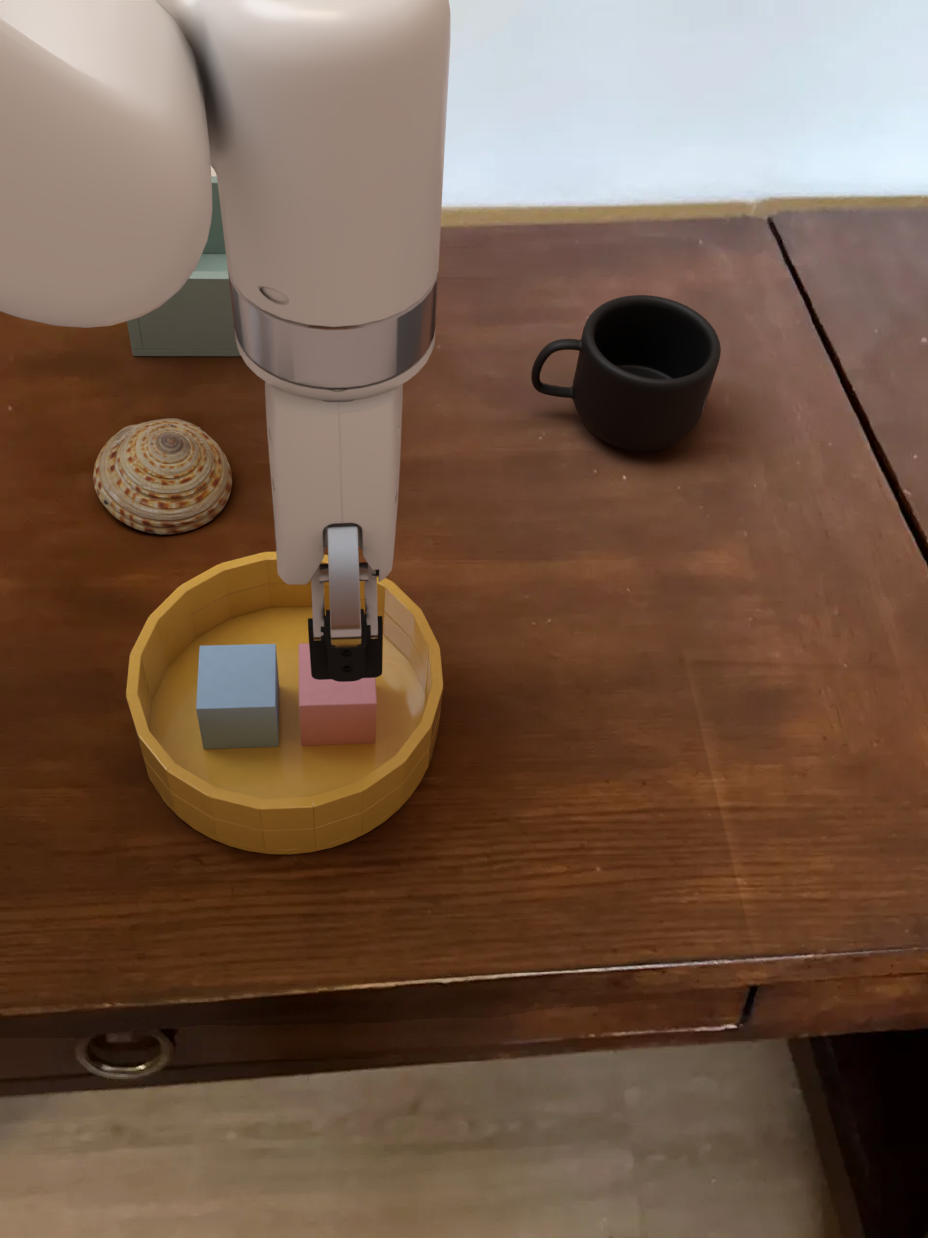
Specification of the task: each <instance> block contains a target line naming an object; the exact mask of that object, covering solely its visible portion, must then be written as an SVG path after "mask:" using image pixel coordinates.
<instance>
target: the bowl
mask: <svg viewBox="0 0 928 1238" xmlns="http://www.w3.org/2000/svg"><path fill="white" fill-rule="evenodd" d="M326 563H328V554H324V558H323V560H322V562H321V563H320V564H326ZM324 598H325V616H326V610H330V600H329V582H324ZM360 607H361V609H364V614H365V596H364V581H360ZM377 612H378V616H382V620H383V652H382V674H381V675H380V676H379V677H376V697H377V712H376V740H375V743H370V744H340V745H311V746H302V745H301V732H300V714H299V644H301V643H309V635H308V618H313V612H312V586H311V580H310V581H309V582H308V583H307V584H306V585H297V584H292V585H289V584H286V583H285V582H284V581H283V580H282V579H281V578H280V577H279V575H278V572H277V555H276V551H262V552H258V553H254V554H251V555H247V556H243V557H240V558H235V559H232V560H231V559H230V560H227V561H223V562H220V563H217V564H215V565H214V566H212V567H210V568H209V569H206V570H205V571H204V572H201V573H199V574H198V575H196V576H195V577H192V578H191V579H189V580H187V581H185V582H183V583H181V584H180V585H179V586H178V587H177V588H175V590H173V591H172V593H171V594H170V595H169V596H167V598H165V600H164V601H163V602H162V603H160V604H159V606H157V607H156V608H155V609H154V611H152V613H150V615H148V617H147V619H146V621H145V623H144V625H143V627H142V630H141V631H140V632H139V635H138V637H137V640H136V641H135V643H134V646H133V647H132V648H131V651H130V653H129V658H128V667H127V668H128V669H127V677H126V678H127V679H126V689H125V698H126V699H125V700H126V702H127V705H128V710H129V714H130V717H131V721H132V726H133V729H134V733H135V736H136V741H137V744H138V747H139V749H140V750H139V751H140V753H141V757H142V761H143V763H144V767H145V770H146V774H147V776H148V779H149V781H150V782H151V783H152V785H153V787H154V789H155V791H156V792H157V794H158V795H159V796H160V798H161V799H162V801H163V802H164V803H165V805H166V806H167V807H168V808H169V809H170V810H171V811H172V812H173V813H174V814H175V815H176V817H178V818H179V819H180V820H181V821H183V822H184V823H185V824H187V825H188V826H189V827H191V828H192V829H193V830H195V831H197V832H198V833H200V834H202V835H203V836H206V837H207V838H209V839H211V840H213V841H216V842H218V843H220V844H223V845H225V846H228V847H231V848H235V849H238V850H243V851H245V852H252V853H258V854H266V855H298V854H307V853H314V852H318V851H323V850H329V849H332V848H335V847H338V846H341V845H343V844H346V843H349V842H351V841H354V840H356V839H357V838H359V837H362V836H364V835H366V834H367V833H369V832H371V831H373V830H374V829H376V828H377V827H378V826H380V825H382V824H383V823H385V822H386V821H387V820H388V819H389V818H391V817H392V816H393V815H394V814H395V813H397V812H398V811H399V810H400V809H401V808H402V806H404V804H405V803H406V802H407V801H408V800H409V799H410V798H411V797H412V795H413V794H414V793H415V791H416V789H418V786H419V785H420V783H421V782H422V781H423V778H424V776H425V774H426V772H427V770H428V768H429V765H430V763H431V760H432V757H433V753H434V751H435V745H436V741H437V738H438V734H439V727H440V720H441V710H442V702H443V694H444V693H443V692H444V678H443V676H444V675H443V666H442V656H441V653H442V652H441V647H440V644H439V642H438V640H437V637H436V636H435V634H434V632H433V630H432V628H431V626H430V624H429V621H428V620H427V618H426V616H425V613H424V612H423V610H422V609H421V608H420V607H419V605H417V604H416V603H415V602H414V601H413V599H411V598H410V597H409V595H407V594H406V593H405V592H404V590H402V589H401V588H400V587H399V586H398V585H397V584H396V583H395V582H394V581H392V580H390V579H389V578H387V577H385V578H384V579H383V580H382V581H380V582H379V579H378V577H377ZM252 644H276V652H277V665H278V677H279V746H278V747H257V748H228V749H203V744H202V739H201V733H200V728H199V722H198V717H197V711H196V701H197V683H198V665H199V647H200V646H211V645H252Z"/></svg>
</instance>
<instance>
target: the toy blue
mask: <svg viewBox="0 0 928 1238" xmlns="http://www.w3.org/2000/svg"><path fill="white" fill-rule="evenodd" d="M196 711H197V717H198V722H199V728H200V733H201V739H202V744H203V749H228V748H257V747H278V746H279V677H278V665H277V652H276V644H252V645H211V646H200V647H199V665H198V683H197V701H196Z"/></svg>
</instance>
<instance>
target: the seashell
mask: <svg viewBox="0 0 928 1238" xmlns="http://www.w3.org/2000/svg"><path fill="white" fill-rule="evenodd" d="M232 473H233V472H232V469H231V466H230V462H229V461H228V458H227V456H226V454H225V452H224V450H223V449H222V447H221V446H220V445H219V444H218V443H217V442H216V441H215V439H213V437H211V436H210V435H209V434H208V433H207V432H205V431H204V430H202V429H201V427H199V426H197V425H196V424H194V423H191V422H188V421H187V420H183V419H181V418H176V417H175V418H168V417H167V418H160V419H154V420H148V421H144V422H140V423H137V424H130V425H127V426H125V427H123V428H121V429H120V430H119V431H118V432H117V433H115V434H114V435H112V436H111V437H110V439H108V441H107V442H106V443H105V444H104V445H103V447H101V449H100V451H99V453H98V454H97V457H96V460H95V463H94V467H93V474H92V475H93V484H94V490H95V493H96V495H97V497H98V499H99V501H100V503H102V505H103V506H104V508H105V509H106V510H107V511H108V512H109V513H110V514H111V516H113V517H114V518H116V519H117V520H118V521H119V522H121V523H123V524H124V525H126V526H127V527H131V528H133V529H135V530H138V531H141V532H142V533H143V532H144V533H149V534H155V535H177V534H182V533H185V532H186V533H187V532H190V531H193V530H197V529H198V528H201V527H202V526H204V525H206V524H208V523H209V522H211V521H212V520H214V518H216V517H217V516H218V515H219V514H220V513H221V512H222V511H223V509H224V508H225V507H226V505H227V503H228V501H229V498H230V495H231V493H232V488H233V487H232V486H233V474H232Z"/></svg>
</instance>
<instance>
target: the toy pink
mask: <svg viewBox="0 0 928 1238" xmlns="http://www.w3.org/2000/svg"><path fill="white" fill-rule="evenodd" d="M376 712H377V697H376V678H362V679H360V680H357V681H351V682H338V681H334V680H332V679H327V680H317V679H314V678H313V677H312V675H311V663H310V649H309V643H301V644H299V714H300V732H301V745H302V746H311V745H340V744H370V743H375V740H376Z"/></svg>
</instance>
